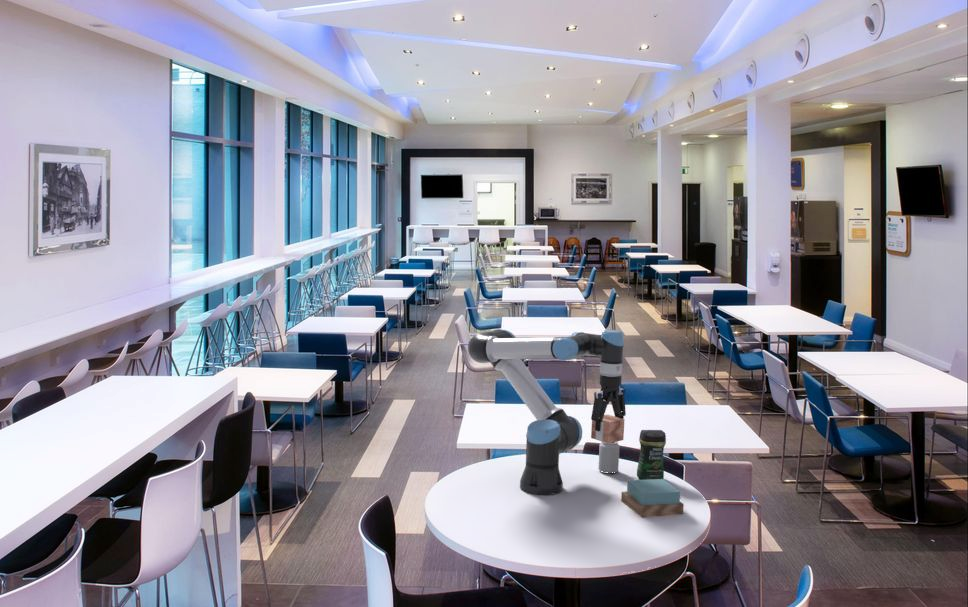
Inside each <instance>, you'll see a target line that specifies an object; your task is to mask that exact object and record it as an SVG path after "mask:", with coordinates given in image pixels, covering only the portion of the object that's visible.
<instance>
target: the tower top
mask: <svg viewBox="0 0 968 607" xmlns="http://www.w3.org/2000/svg"><path fill="white" fill-rule="evenodd" d="M626 487H627V489H626V491H627V492H628V493H629V494H630V495H631V496H632V497H634V498H635V499H636V500H637V501H638V502H639V503H640V504H641V505H660V504H680V502H681V491H680V490H679V489H677V488H676V487H675V486H673V485H672V484H671V483H669V482H668V481H667V480H666V479H651V480H641V479H632V480H631V479H629V480H627V486H626Z"/></svg>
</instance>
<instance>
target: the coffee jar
mask: <svg viewBox="0 0 968 607" xmlns="http://www.w3.org/2000/svg"><path fill="white" fill-rule="evenodd" d="M666 437H667V435H666V432H665V431H663V430H662V429H642V430H640V433H639V437H638V438H639V439H638V440H639V444H640V452H639V458H638V462H637V463H638V465H637V469H636V476H637V478H638V480H651V479H664V476H665V474H664V472H665V470H664V450H665V446H666V443H667V438H666ZM664 480H665V479H664Z"/></svg>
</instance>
